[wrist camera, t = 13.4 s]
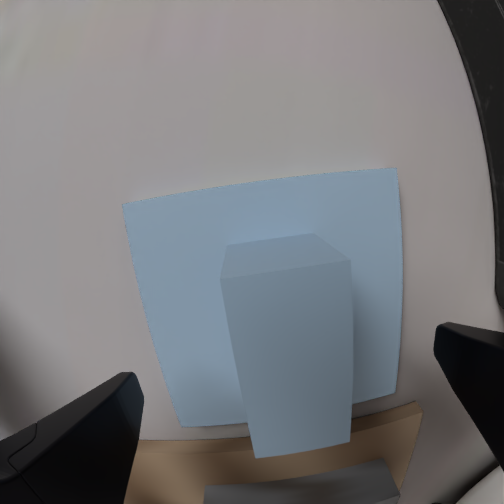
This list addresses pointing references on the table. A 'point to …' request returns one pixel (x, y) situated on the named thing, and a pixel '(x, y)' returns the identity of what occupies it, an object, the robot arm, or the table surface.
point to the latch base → (280, 468)
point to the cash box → (485, 93)
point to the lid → (274, 302)
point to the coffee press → (486, 490)
